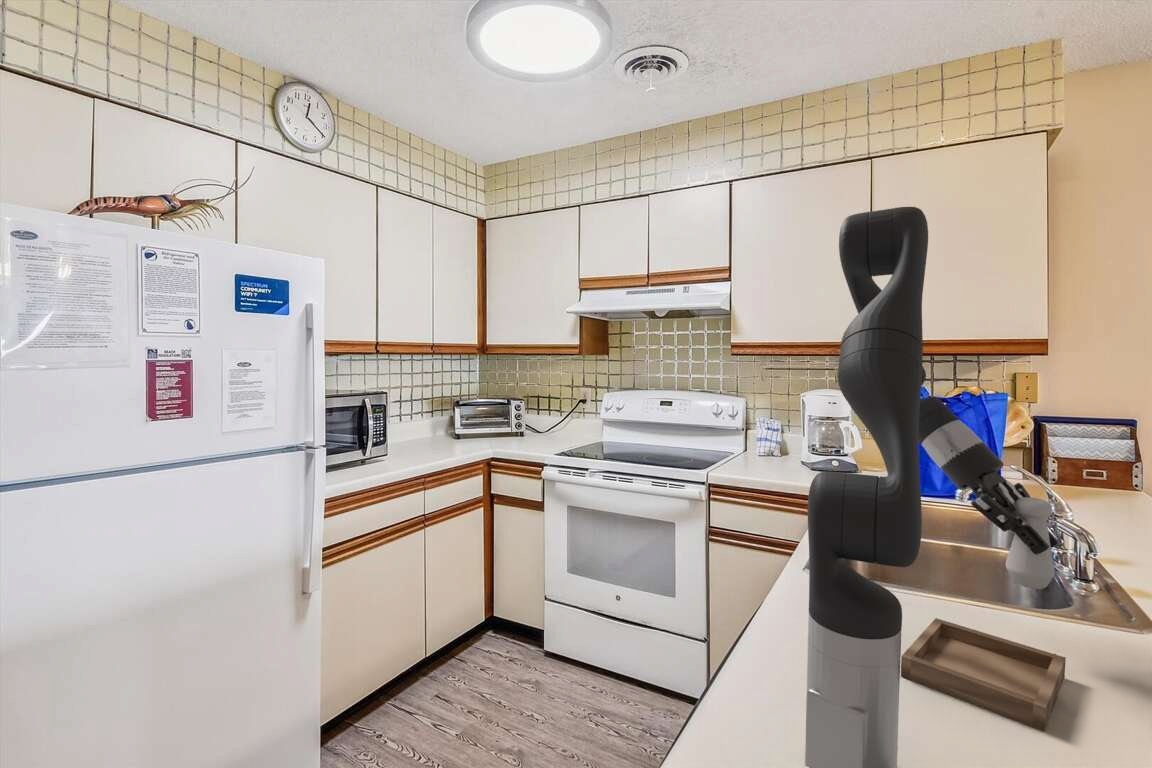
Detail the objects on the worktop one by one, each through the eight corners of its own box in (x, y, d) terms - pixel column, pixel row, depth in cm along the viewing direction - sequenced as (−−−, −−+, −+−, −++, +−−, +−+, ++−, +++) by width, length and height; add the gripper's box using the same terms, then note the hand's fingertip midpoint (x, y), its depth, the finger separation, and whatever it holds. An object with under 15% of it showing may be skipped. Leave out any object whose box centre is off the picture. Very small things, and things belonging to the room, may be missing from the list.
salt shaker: (1033, 593, 83) (1038, 506, 82) (995, 578, 89) (999, 495, 88) (1063, 589, 85) (1068, 502, 84) (1024, 574, 90) (1028, 493, 89)
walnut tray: (1044, 731, 70) (1045, 707, 70) (900, 676, 81) (901, 655, 81) (1064, 677, 81) (1065, 657, 80) (935, 636, 92) (935, 618, 92)
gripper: (958, 445, 88) (1053, 546, 78) (998, 436, 95) (1089, 528, 86) (921, 472, 93) (1005, 571, 83) (962, 462, 100) (1043, 551, 91)
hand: (1047, 548), depth 85 cm, fingers closed on salt shaker, 3 cm apart
